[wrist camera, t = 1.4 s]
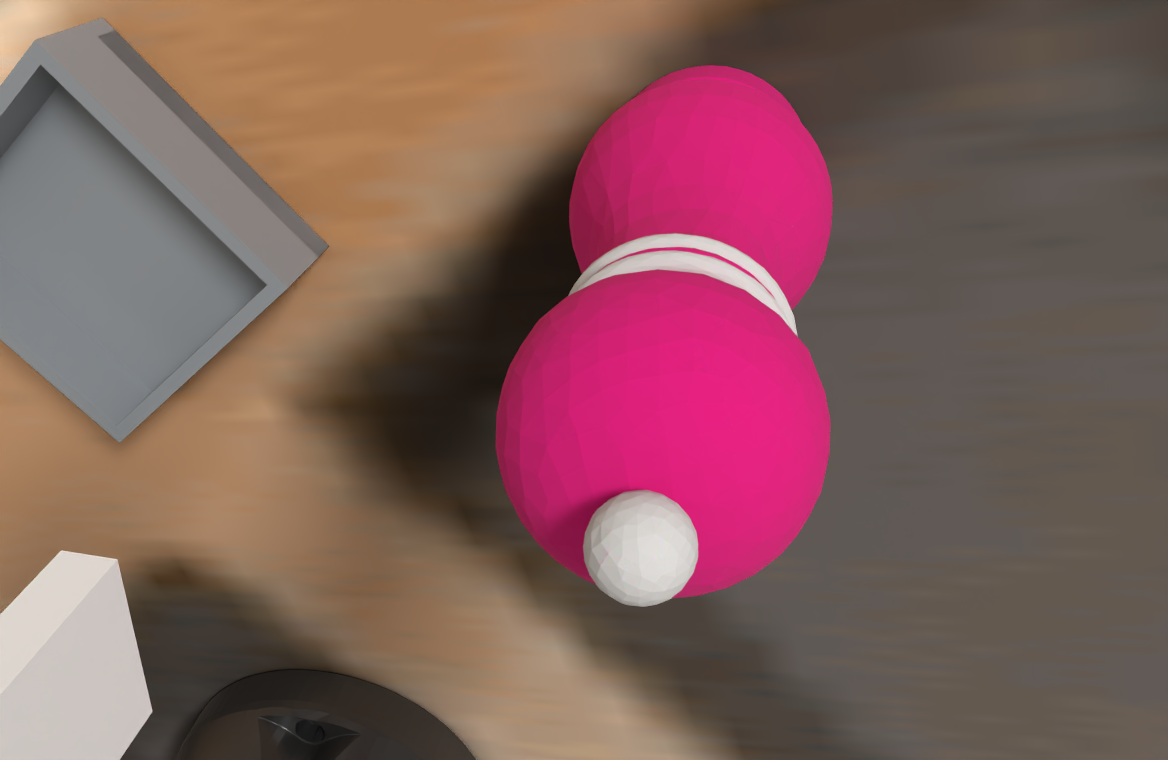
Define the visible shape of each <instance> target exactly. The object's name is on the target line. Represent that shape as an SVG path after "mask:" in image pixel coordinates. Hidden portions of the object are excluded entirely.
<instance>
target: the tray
mask: <svg viewBox="0 0 1168 760" xmlns="http://www.w3.org/2000/svg"><path fill="white" fill-rule="evenodd" d="M328 247H329V246H328V245H327V244H326V243H325V242H324V241H323V240H322V239H321V238H320V237H319V236H318V235H317V234H316V233H315V232H314V231H313V230H312V229H311V228H310V227H309V226H308V225H307V224H306V223H305V222H304V221H303V220H302V219H301V218H300V217H299V216H298V215H297V214H296V213H295V212H294V211H293V210H292V209H291V207H290V206H289V205H288V204H287V203H286V202H285V201H284V200H283V199H282V198H281V197H280V196H279V195H278V194H277V193H276V192H275V191H274V190H273V189H272V188H271V187H270V186H269V185H268V184H267V183H266V182H265V181H264V180H263V179H262V178H261V177H260V176H259V175H258V174H257V173H256V172H255V171H254V170H253V169H252V168H251V167H250V166H249V165H248V164H247V163H246V162H245V161H244V160H243V159H242V158H241V157H240V156H239V155H238V154H237V153H236V152H235V151H234V150H233V149H232V148H231V147H230V146H229V145H228V144H227V143H226V142H225V141H224V140H223V139H222V138H221V137H220V136H219V135H218V134H217V133H216V132H215V131H214V130H213V129H212V128H211V127H210V126H209V125H208V124H207V123H206V122H205V121H204V120H203V119H202V118H201V117H200V116H199V115H198V114H197V113H196V112H195V111H194V110H193V109H192V108H191V107H190V106H189V105H188V104H187V102H186V101H185V100H184V99H183V98H182V97H181V96H180V95H179V94H178V93H177V92H176V91H175V90H174V89H173V88H172V87H171V86H170V85H169V84H168V83H167V82H166V81H165V80H164V79H163V78H162V77H161V76H160V75H159V74H158V73H157V72H156V71H155V70H154V69H153V68H152V67H151V66H150V65H149V64H148V63H147V62H146V61H145V60H144V59H143V58H142V57H141V56H140V55H139V54H138V53H137V52H136V51H135V50H134V49H133V48H132V47H131V46H130V45H129V44H128V43H127V42H126V41H125V40H124V39H123V38H122V37H121V36H120V35H119V34H118V33H117V32H116V31H115V30H114V29H113V28H112V27H111V26H110V25H109V24H108V23H107V22H106V21H105V20H104V19H103V18H100V19H97V20H94V21H91V22H88V23H85V24H82V25H79V26H76V27H73V28H70V29H67V30H64V31H61V32H58V33H55V34H52V35H49V36H46V37H43V38H39V39H36V40H35V41H34V42H33V44H32V45H31V46H30V48H29V49H28V50H27V52H26V53H25V54H24V56H23V57H22V58H21V60H20V61H19V62H18V63H17V65H16V66H15V67H14V69H13V70H12V71H11V73H10V74H9V75H8V77H7V78H6V79H5V81H4V82H3V83H2V85H1V86H0V339H1V340H2V341H3V342H4V343H5V344H6V345H7V346H9V347H10V348H11V349H12V350H13V351H14V352H15V353H17V354H18V355H19V356H20V357H21V358H22V359H24V360H25V361H26V362H27V363H28V364H29V365H30V366H32V367H33V368H34V369H35V370H36V371H37V372H38V373H40V374H41V375H42V376H43V377H44V378H45V379H47V380H48V381H49V382H50V383H51V384H52V385H53V386H55V387H56V388H57V389H58V390H59V391H60V392H62V393H63V394H64V395H65V396H66V397H67V398H68V399H70V400H71V401H72V402H73V403H74V404H75V405H76V406H78V407H79V408H80V409H81V410H82V411H83V412H85V413H86V414H87V415H88V416H89V417H90V418H91V419H93V420H94V421H95V422H96V423H97V424H98V425H99V426H101V427H102V428H103V429H104V430H105V431H106V432H108V433H109V434H110V435H111V436H112V437H113V438H114V439H116V440H117V441H118V442H119V443H120V442H121V441H122V440H123V439H124V438H125V437H126V436H128V435H129V434H130V433H131V432H132V431H133V430H134V429H135V428H136V427H137V426H138V425H139V424H141V423H142V422H143V421H144V420H145V419H146V418H147V417H148V416H149V415H150V414H151V413H153V412H154V411H155V410H156V409H157V408H158V407H159V406H160V405H161V404H162V403H163V402H164V401H166V400H167V399H168V398H169V397H170V396H171V395H172V394H173V393H174V392H175V391H176V390H178V389H179V388H180V387H181V386H182V385H183V384H184V383H185V382H186V381H187V380H188V379H189V378H191V377H192V376H193V375H194V374H195V373H196V372H197V371H198V370H199V369H200V368H201V367H202V366H204V365H205V364H206V363H207V362H208V361H209V360H210V359H211V358H212V357H213V356H214V355H216V354H217V353H218V352H219V351H220V350H221V349H222V348H223V347H224V346H225V345H226V344H227V343H229V342H230V341H231V340H232V339H233V338H234V337H235V336H236V335H237V334H238V333H239V332H241V331H242V330H243V329H244V328H245V327H246V326H247V325H248V324H249V323H250V322H251V321H252V320H254V319H255V318H256V317H257V316H258V315H259V314H260V313H261V312H262V311H263V310H264V309H266V308H267V307H268V306H269V305H270V304H271V303H272V302H273V301H274V300H275V299H276V298H277V297H279V296H280V295H281V294H282V293H283V292H284V291H285V290H286V289H287V288H288V287H289V286H290V285H291V284H292V283H293V282H294V281H295V280H296V279H297V278H298V277H299V276H300V275H301V274H302V273H303V272H304V271H305V270H306V269H307V268H308V267H309V266H310V265H311V264H312V263H313V262H314V261H315V260H316V259H317V258H318V257H319V256H320V255H321V254H322V253H323V252H324V251H325V250H326V249H327V248H328Z"/></svg>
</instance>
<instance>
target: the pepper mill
mask: <svg viewBox="0 0 1168 760" xmlns="http://www.w3.org/2000/svg"><path fill="white" fill-rule="evenodd" d="M832 207H833V201H832V190H831V182H830V178H829V174H828V171H827V167H826V163H825V161H824V159H823V157H822V155H821V152H820V150H819V148H818V146H817V144H816V143H815V141H814V140H813V138H812V136H811V135H810V133H809V132H808V131H807V130H806V128H805V127H804V126H803V125H802V123H801V122H800V120H799V117H798V115H797V114H796V112H795V111H794V109H793V108H792V106H791V105H790V104H789V102H788V101H787V100H786V99H785V98H784V96H783V95H782V94H780V93H779V92H778V91H777V90H776V89H775V88H774V87H772V86H771V85H770V84H768V83H767V82H765V81H764V80H762V79H761V78H759V77H757V76H755V75H753V74H751V73H748V72H745V71H742V70H739V69H735V68H731V67H726V66H714V65H707V66H699V67H690V68H686V69H683V70H679V71H676V72H672V73H669V74H668V75H666V76H664V77H662V78H660V79H658V80H657V81H655V82H653V83H652V84H650V85H649V86H647V87H646V88H645V89H644V90H643V91H641V92H640V93H639V94H638V95H637V96H636V97H635V98H633V99H632V100H630V101H629V102H628V103H626V104H625V105H624V106H622V107H621V108H620V109H618V110H617V111H616V112H614V113H613V114H612V115H611V116H610V117H609V118H608V119H607V120H606V122H605V123H604V124H603V125H602V126H601V127H600V128H599V129H598V131H597V132H596V133H595V135H594V136H593V138H592V139H591V141H590V142H589V144H588V145H587V148H586V150H585V152H584V154H583V156H582V159H581V161H580V163H579V165H578V168H577V172H576V176H575V179H574V183H573V188H572V193H571V198H570V203H569V226H570V232H571V239H572V246H573V249H574V252H575V255H576V258H577V261H578V264H579V267H580V270H581V273H582V275H581V276H580V277H579V279H578V280H577V281H576V283H575V284H574V286H573V288H572V289H571V291H570V293H569V295H568V296H567V297H566V298H564V299H563V300H562V301H561V302H560V303H558V304H557V305H556V306H555V307H554V308H552V309H551V310H550V311H549V312H548V313H546V314H545V315H544V316H543V317H542V318H540V319H539V320H538V322H537V323H536V325H535V326H534V327H533V329H532V330H531V332H530V333H529V335H528V336H527V337H526V339H525V340H524V342H523V343H522V345H521V346H520V348H519V350H518V351H517V353H516V355H515V357H514V358H513V360H512V362H511V364H510V366H509V369H508V372H507V374H506V377H505V380H504V383H503V386H502V390H501V395H500V400H499V405H498V409H497V414H496V453H497V458H498V463H499V468H500V472H501V476H502V479H503V483H504V487H505V490H506V493H507V494H508V496H509V498H510V500H511V502H512V504H513V506H514V508H515V510H516V512H517V514H518V516H519V518H520V520H521V522H522V523H523V525H524V526H525V527H526V529H527V530H528V531H529V533H530V534H531V535H532V537H533V538H534V539H535V540H536V542H537V543H538V544H539V545H540V546H541V547H542V548H543V549H544V550H545V551H546V552H547V553H548V554H549V555H551V556H552V557H553V558H554V559H555V560H556V561H557V562H558V563H560V564H561V565H563V566H564V567H566V568H567V569H569V570H570V571H572V572H574V573H575V574H577V575H578V576H580V577H581V578H583V579H585V580H587V581H589V582H592V583H594V584H596V585H597V586H598V587H599V589H600V590H602V591H603V592H604V593H606V594H607V595H609V596H610V597H612V598H614V599H615V600H617V601H619V602H620V603H623V604H626V605H633V606H643V607H645V606H651V605H656V604H659V603H662V602H664V601H666V600H669V599H671V598H680V597H690V596H699V595H703V594H706V593H710V592H714V591H717V590H721V589H724V588H728V587H730V586H732V585H734V584H736V583H738V582H740V581H742V580H744V579H746V578H748V577H750V576H752V575H754V574H756V573H757V572H758V571H760V570H761V569H762V568H764V567H765V566H766V565H768V564H769V563H770V562H772V561H773V560H774V559H776V558H777V557H778V556H780V555H781V554H782V552H783V551H784V550H785V549H786V548H787V547H788V545H789V544H790V543H791V542H792V541H793V539H794V538H795V537H796V536H797V535H798V533H799V531H800V530H801V528H802V527H803V525H804V524H805V522H806V520H807V519H808V517H809V516H810V514H811V512H812V510H813V508H814V505H815V503H816V501H817V499H818V497H819V495H820V493H821V489H822V485H823V481H824V476H825V472H826V467H827V463H828V458H829V447H830V416H829V411H828V406H827V400H826V395H825V391H824V389H823V386H822V384H821V381H820V379H819V376H818V373H817V371H816V368H815V366H814V363H813V361H812V358H811V355H810V353H809V350H808V349H807V347H806V346H805V345H804V344H803V343H802V341H801V340H800V339H799V338H798V337H797V330H796V325H795V319H794V315H793V313H792V311H791V310H792V309H793V308H794V307H795V306H796V305H797V304H798V302H799V301H800V300H801V298H802V297H803V295H804V294H805V293H806V291H807V290H808V288H809V287H810V285H811V284H812V282H813V281H814V279H815V277H816V275H817V273H818V271H819V268H820V266H821V264H822V262H823V259H824V257H825V254H826V249H827V245H828V240H829V236H830V231H831V219H832Z"/></svg>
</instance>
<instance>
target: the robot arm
mask: <svg viewBox="0 0 1168 760" xmlns="http://www.w3.org/2000/svg"><path fill="white" fill-rule="evenodd" d="M151 713H152V707H151V703H150V699H149V694H148V690H147V686H146V681H145V677H144V673H143V668H142V664H141V660H140V655H139V651H138V647H137V642H136V638H135V634H134V629H133V625H132V621H131V616H130V612H129V608H128V603H127V599H126V595H125V590H124V586H123V582H122V577H121V573H120V569H119V564H118V560H117V559H112V558H106V557H100V556H93V555H87V554H81V553H74V552H68V551H62V550H61V551H60V552H59V553H58V554H57V555H56V556H55V557H54V558H53V559H52V561H51V562H50V563H49V564H48V565H47V566H46V567H45V568H44V569H43V570H42V571H41V572H40V573H39V574H38V575H37V576H36V577H35V579H34V580H33V581H32V582H31V583H30V584H29V585H28V586H27V587H26V588H25V589H24V590H23V591H22V592H21V593H20V594H19V595H18V596H17V598H16V599H15V600H14V601H13V602H12V603H11V604H10V605H9V606H8V607H7V608H6V609H5V610H4V611H3V612H2V613H1V614H0V760H120V758H121V757H122V756H123V754H124V753H125V751H126V750H127V748H128V747H129V745H130V744H131V742H132V741H133V739H134V738H135V736H136V735H137V734H138V732H139V731H140V729H141V728H142V726H143V725H144V723H145V722H146V720H147V719H148V717H149V716H150V714H151ZM175 760H476V759H475V758H474V756H473V755H472V754H471V752H470V751H469V750H468V748H467V747H466V746H465V745H464V744H463V742H462V741H461V740H460V739H459V738H458V737H457V736H456V735H455V734H454V733H453V732H452V731H451V730H450V729H449V728H448V727H446V726H445V725H444V724H443V723H442V722H440V721H439V720H438V719H437V718H435V717H434V716H433V715H431V714H430V713H428V712H427V711H425V710H424V709H422V708H421V707H419V706H418V705H416V704H414V703H413V702H411V701H409V700H407V699H406V698H404V697H402V696H400V695H398V694H396V693H394V692H391V691H389V690H387V689H385V688H382V687H379V686H377V685H374V684H372V683H369V682H366V681H363V680H359V679H356V678H352V677H348V676H344V675H339V674H334V673H328V672H321V671H311V670H284V671H274V672H267V673H262V674H258V675H254V676H251V677H247V678H245V679H242V680H240V681H237V682H235V683H233V684H231V685H230V686H228V687H226V688H225V689H223V690H222V691H220V692H219V693H218V694H217V695H215V696H214V697H213V698H212V699H211V700H210V701H209V703H208V704H207V705H206V706H205V708H204V709H203V711H202V712H201V714H200V715H199V717H198V719H197V720H196V722H195V724H194V725H193V727H192V728H191V730H190V732H189V733H188V735H187V736H186V738H185V740H184V741H183V743H182V745H181V747H180V749H179V752H178V754H177V757H176V759H175Z"/></svg>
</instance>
